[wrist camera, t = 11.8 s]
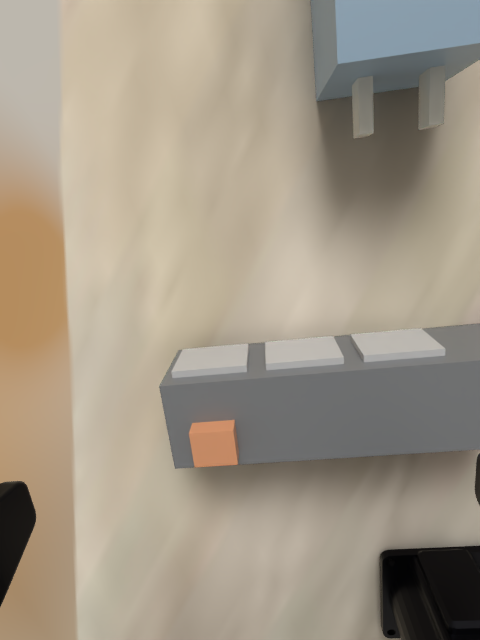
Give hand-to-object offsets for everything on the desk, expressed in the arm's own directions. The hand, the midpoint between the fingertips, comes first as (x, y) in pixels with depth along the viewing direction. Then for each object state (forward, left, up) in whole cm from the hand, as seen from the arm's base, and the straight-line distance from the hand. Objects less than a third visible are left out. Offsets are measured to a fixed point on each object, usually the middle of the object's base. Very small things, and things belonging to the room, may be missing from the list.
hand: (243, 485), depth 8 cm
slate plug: (+12, -6, -12) cm, 18 cm away
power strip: (-4, -4, -12) cm, 13 cm away
